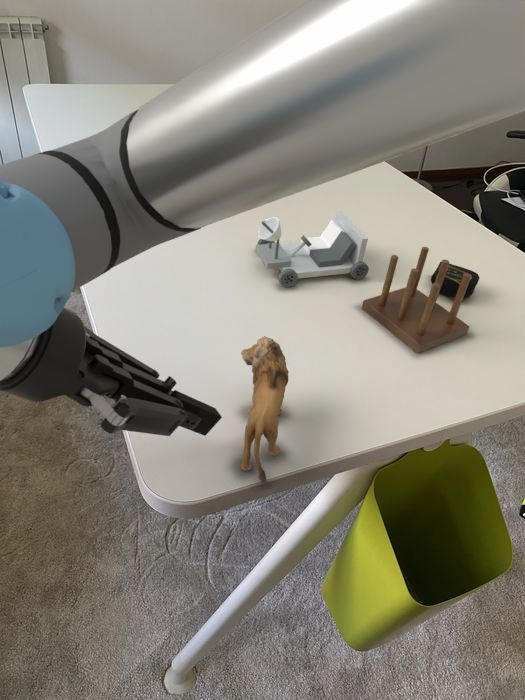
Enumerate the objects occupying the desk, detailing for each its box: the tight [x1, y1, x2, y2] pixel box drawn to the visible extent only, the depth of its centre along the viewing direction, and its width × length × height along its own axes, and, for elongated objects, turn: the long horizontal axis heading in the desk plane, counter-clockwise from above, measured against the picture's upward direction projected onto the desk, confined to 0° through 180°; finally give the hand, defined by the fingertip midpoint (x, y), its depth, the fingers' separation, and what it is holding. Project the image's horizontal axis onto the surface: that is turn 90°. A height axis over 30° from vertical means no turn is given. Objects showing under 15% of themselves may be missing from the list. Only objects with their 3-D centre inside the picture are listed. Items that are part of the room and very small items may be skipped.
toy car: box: [255, 210, 370, 288], centre depth 88 cm, size 18×10×12 cm
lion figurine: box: [240, 335, 290, 485], centre depth 59 cm, size 15×5×9 cm, turn 3°
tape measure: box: [430, 260, 480, 300], centre depth 88 cm, size 7×7×4 cm
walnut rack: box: [361, 246, 471, 354], centre depth 79 cm, size 12×10×10 cm
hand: (210, 421), depth 58 cm, fingers closed
